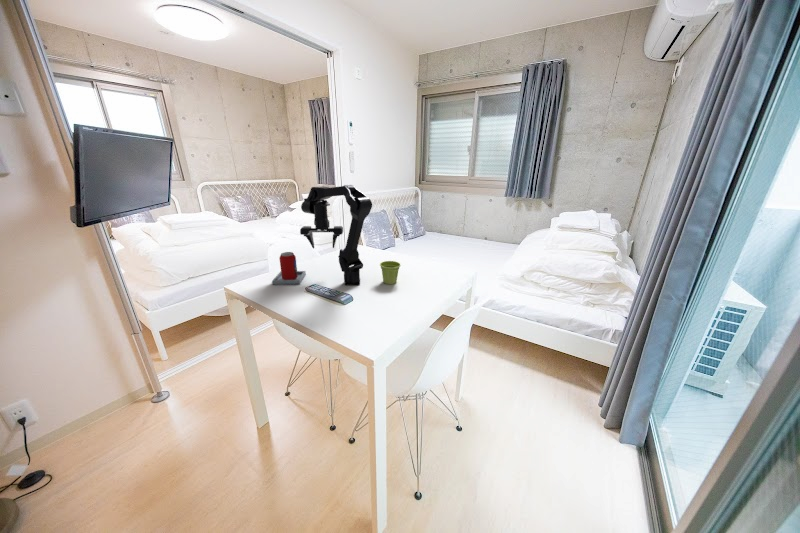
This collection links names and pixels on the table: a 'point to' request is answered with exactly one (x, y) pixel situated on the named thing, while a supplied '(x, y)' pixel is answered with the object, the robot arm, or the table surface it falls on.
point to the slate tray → (298, 280)
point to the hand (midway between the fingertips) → (323, 248)
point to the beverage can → (288, 266)
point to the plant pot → (390, 271)
